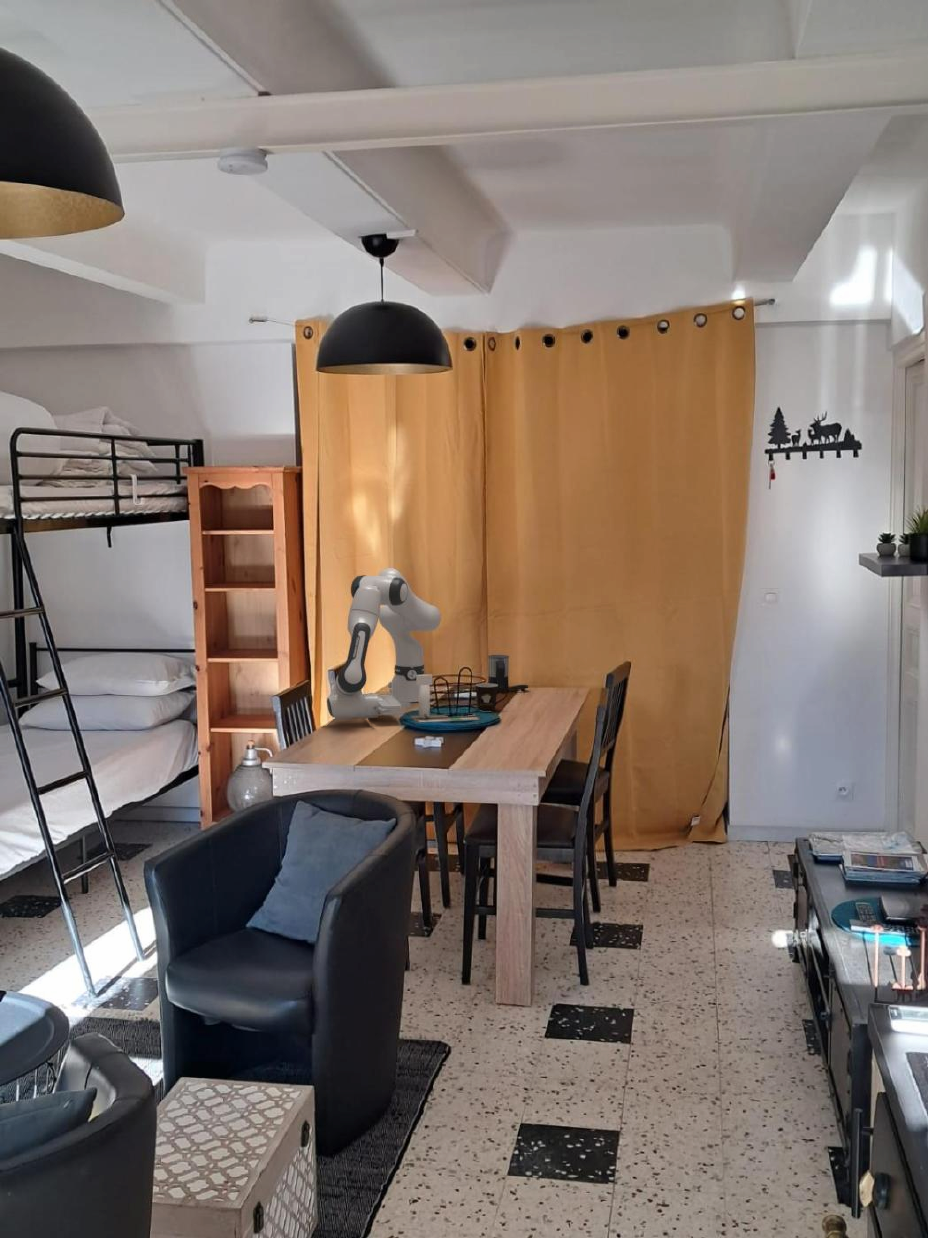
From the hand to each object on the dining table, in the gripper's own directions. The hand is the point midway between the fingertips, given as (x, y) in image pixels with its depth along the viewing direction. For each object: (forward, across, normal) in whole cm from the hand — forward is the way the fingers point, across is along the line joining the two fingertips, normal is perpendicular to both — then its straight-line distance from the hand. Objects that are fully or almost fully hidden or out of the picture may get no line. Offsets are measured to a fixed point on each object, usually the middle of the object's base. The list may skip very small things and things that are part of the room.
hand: (410, 704), depth 437 cm
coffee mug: (+34, +17, +7) cm, 39 cm away
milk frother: (+53, +60, +7) cm, 80 cm away
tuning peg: (+5, -2, +5) cm, 7 cm away
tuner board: (+13, 0, +7) cm, 15 cm away
